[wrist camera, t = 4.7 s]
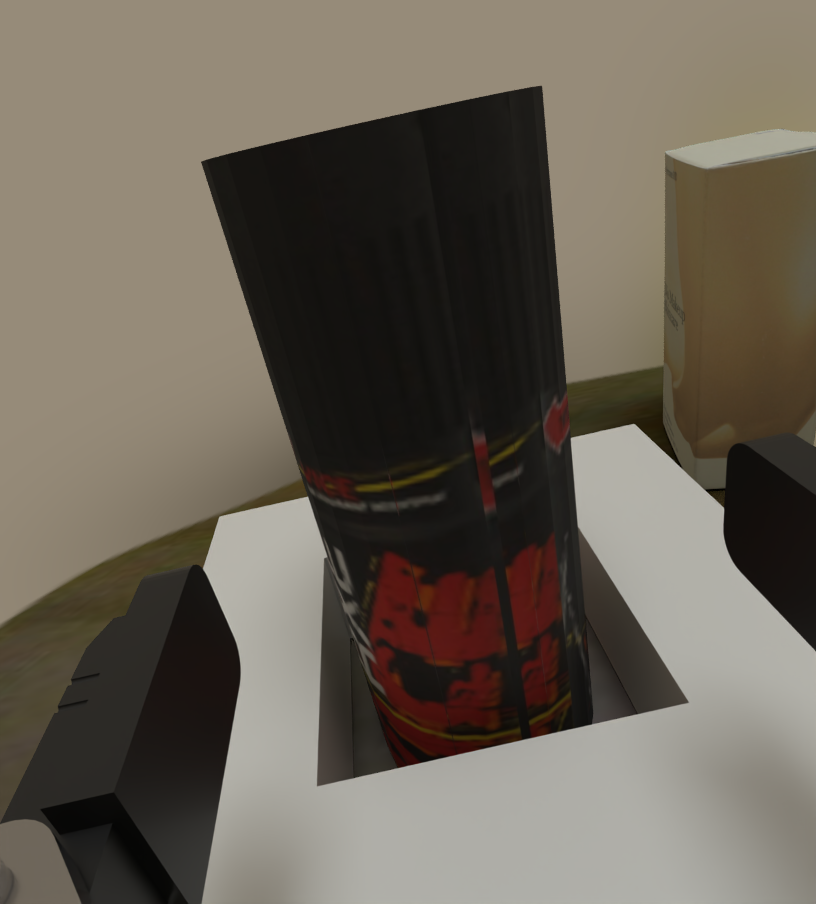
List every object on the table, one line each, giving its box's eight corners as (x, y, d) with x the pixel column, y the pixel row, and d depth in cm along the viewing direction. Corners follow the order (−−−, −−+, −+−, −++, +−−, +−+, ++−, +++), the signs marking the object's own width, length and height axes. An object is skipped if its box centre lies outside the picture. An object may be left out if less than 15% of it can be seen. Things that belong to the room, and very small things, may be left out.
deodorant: (343, 728, 18) (142, 175, 11) (469, 605, 21) (376, 127, 14) (509, 859, 14) (356, 121, 7) (632, 683, 17) (610, 71, 10)
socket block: (636, 501, 25) (634, 423, 23) (1041, 982, 11) (1107, 868, 9) (248, 587, 25) (219, 516, 23) (127, 1190, 10) (31, 1113, 9)
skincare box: (660, 424, 30) (658, 149, 24) (758, 414, 29) (780, 125, 23) (693, 497, 24) (701, 161, 19) (816, 488, 23) (863, 131, 18)
